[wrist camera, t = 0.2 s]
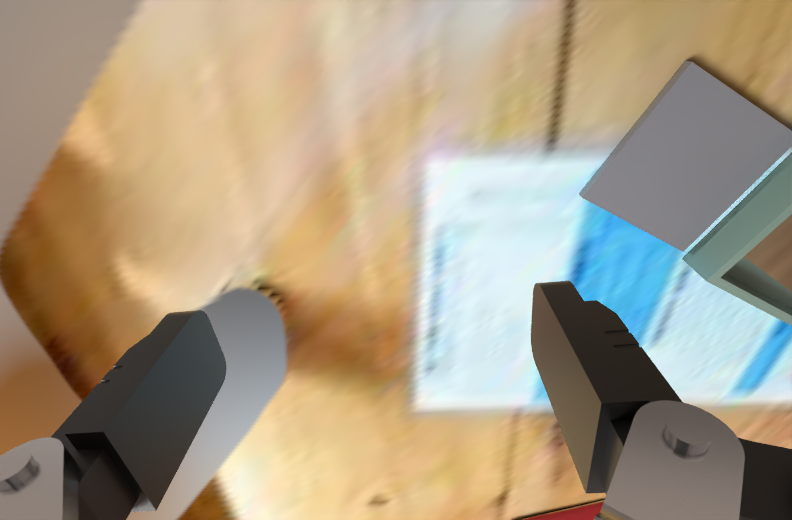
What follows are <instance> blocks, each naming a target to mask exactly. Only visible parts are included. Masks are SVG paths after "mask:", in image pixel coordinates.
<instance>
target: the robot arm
mask: <svg viewBox="0 0 792 520" xmlns="http://www.w3.org/2000/svg"><path fill="white" fill-rule="evenodd" d="M531 345H532V352H533V357H534V361H535V363H536V366H537V369H538V371H539V374H540V376H541V379H542V382H543V384H544V387H545V389H546V392H547V394H548V397H549V400H550V402H551V405H552V407H553V410H554V412H555V415H556V418H557V420H558V423H559V425H560V428H561V430H562V433H563V436H564V438H565V441H566V443H567V446H568V449H569V451H570V454H571V456H572V459H573V461H574V464H575V467H576V469H577V472H578V474H579V477H580V479H581V482H582V485H583V487H584V490H585V492H586V493H606V498H605V500H604V503H603V506H602V509H601V511H600V513H599V514H597V515H596V516H595V518H594V520H792V449H788V448H783V447H778V446H772V445H767V444H762V443H757V442H752V441H748V440H744V439H741V438H738V437H737V436H736V435H735V434H734V432H733V431H732V430H731V429H730V428H729V427H728V426H727V425H726V424H724V423H723V422H722V421H721V420H719V419H718V418H716V417H715V416H713V415H712V414H710V413H708V412H706V411H704V410H703V409H700V408H698V407H695V406H693V405H689V404H686V403H683V402H682V401H681V400H680V398H679V397H678V396H677V394H676V393H675V391H674V390H673V389H672V387H671V386H670V385H669V383H668V382H667V381H666V379H665V378H664V377H663V375H662V374H661V373H660V371H659V370H658V369H657V367H656V366H655V365H654V363H653V362H652V361H651V359H650V358H649V357H648V355H647V354H646V353H645V351H644V350H643V349H642V347H639V343H638V342H637V341H636V339H635V338H634V337H633V335H632V334H631V333H629V331H628V328H627V327H626V326H625V324H624V323H623V322H622V320H621V319H620V318H619V316H618V315H617V314H616V313H615V312H613V311H612V310H610V309H609V308H607V307H606V306H604V305H603V304H601V303H600V302H598V301H597V300H596V301H583V299H582V298H581V296H580V295H579V293H578V291H577V290H576V288H575V287H574V285H573V284H572V283H571V282H570V281H560V282H548V283H536V284H535V286H534V290H533V306H532V325H531ZM113 367H114V369H112V370H110V371H109V372H108V373H107V374H106V375H105V376H104V377H103V379H102V380H101V384H97V385H96V387H95V388H94V389H93V390H92V391H91V392H90V393H89V395H88V396H87V397H86V398H85V399H84V400H83V401H82V402H81V404H80V405H79V406H78V407H77V408H76V409H75V410H74V412H73V413H72V414H71V415H70V416H69V417H68V418H67V419H66V421H65V422H64V423H63V424H62V425H61V426H60V427H59V429H58V430H57V431H56V432H55V433H54V434H53V435H52V436H51V438H49V437H48V438H40V439H36V440H32V441H29V442H26V443H24V444H22V445H19V446H18V447H16V448H14V449H11V450H10V451H8V452H7V453H5V454H3V455H1V456H0V520H126V519H127V517H128V515H129V514H130V512H139V511H156V510H157V508H158V506H159V504H160V502H161V500H162V498H163V496H164V495H165V493H166V491H167V489H168V487H169V485H170V483H171V481H172V479H173V477H174V476H175V474H176V472H177V470H178V468H179V466H180V464H181V462H182V460H183V458H184V457H185V454H186V453H187V451H188V449H189V447H190V445H191V443H192V441H193V439H194V438H195V436H196V434H197V432H198V430H199V428H200V426H201V424H202V422H203V420H204V419H205V417H206V415H207V413H208V411H209V409H210V407H211V405H212V403H213V401H214V399H215V397H216V396H217V393H218V392H219V390H220V388H221V386H222V384H223V382H224V379H225V375H226V361H225V357H224V355H223V352H222V350H221V347H220V345H219V342H218V340H217V337H216V335H215V333H214V330H213V328H212V325H211V323H210V320H209V318H208V316H207V314H205V312H203V311H201V310H198V311H186V312H174V313H169V314H167V315H166V316H165V317H164V318H163V319H162V320H161V322H160V323H159V324H158V325H157V326H156V327H155V329H154V330H153V331H152V332H151V333H150V335H148V336H146V337H145V338H143V339H142V340H141V341H139V342H138V343H137V344H135V345H134V346H132V347H131V348H130V349H128V350H127V351H126V353H125V354H124V355H123V356H122V357H121V358H120V359H119V360H118V362H117V363H116V364H115V365H114V366H113Z"/></svg>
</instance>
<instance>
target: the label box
mask: <svg viewBox="0 0 792 520" xmlns="http://www.w3.org/2000/svg"><path fill="white" fill-rule="evenodd" d="M744 257H745V258H747V259H748V260H749V261H751V262H752V263H753V264H755V265H756V266H757V267H759V268H760V269H761V270H763V271H764V272H766V273H767V274H768V275H770V276H771V277H772V278H774V279H775V280H776V281H778V282H779V283H780V284H782V285H783V286H784V287H786V288H787V289H789V290H790V291H791V292H792V214H791V215H790V216H789V217H788V218H787V219H786V220H784V221H783V222H782V223H781V224H780V225H779V226H778V227H777V228H775V229H774V230H773V231H772V232H771V233H770V234H769V235H768V236H766V237H765V238H764V239H763V240H762V241H761V242H760V243H759V244H757V245H756V246H755V247H754V248H753V249H752V250H751V251H750V252H748V253H747V254H746V255H745V256H744Z"/></svg>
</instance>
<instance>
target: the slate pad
mask: <svg viewBox="0 0 792 520" xmlns="http://www.w3.org/2000/svg"><path fill="white" fill-rule="evenodd" d="M791 146H792V131H791V130H790V129H788V128H787V127H785V126H784V125H783V124H781V123H780V122H778V121H777V120H775V119H774V118H772V117H771V116H770V115H768V114H767V113H765V112H764V111H762V110H761V109H759V108H758V107H757V106H755V105H754V104H752V103H751V102H749V101H748V100H746V99H745V98H744V97H742V96H741V95H739V94H738V93H736V92H735V91H733V90H732V89H731V88H729V87H728V86H726V85H725V84H723V83H722V82H720V81H719V80H718V79H716V78H715V77H713V76H712V75H710V74H709V73H707V72H706V71H704V70H703V69H702V68H700V67H699V66H697V65H696V64H694V63H693V62H690V61H685V62H684V63H683V65H682V66H681V67H680V68H679V70H678V71H677V72H676V73H675V75H674V76H673V77H672V78H671V80H670V81H669V82H668V83H667V85H666V86H665V87H664V88H663V90H662V91H661V92H660V93H659V95H658V96H657V97H656V98H655V100H654V101H653V102H652V103H651V105H650V106H649V107H648V108H647V110H646V111H645V112H644V113H643V115H642V116H641V117H640V118H639V120H638V121H637V122H636V123H635V125H634V126H633V127H632V128H631V130H630V131H629V132H628V133H627V135H626V136H625V137H624V138H623V140H622V141H621V142H620V143H619V145H618V146H617V147H616V148H615V150H614V151H613V152H612V153H611V155H610V156H609V157H608V158H607V160H606V161H605V162H604V163H603V165H602V166H601V167H600V168H599V170H598V171H597V172H596V173H595V175H594V176H593V177H592V178H591V180H590V181H589V182H588V183H587V185H586V186H585V187H584V188H583V190H582V191H581V192H580V193H579V195H580V196H581V197H582V198H584V199H586V200H588V201H590V202H591V203H593V204H595V205H597V206H599V207H601V208H603V209H604V210H606V211H608V212H610V213H612V214H614V215H616V216H617V217H619V218H621V219H623V220H625V221H627V222H629V223H630V224H632V225H634V226H636V227H638V228H640V229H642V230H643V231H645V232H647V233H649V234H651V235H653V236H655V237H656V238H658V239H660V240H662V241H664V242H666V243H668V244H670V245H671V246H673V247H675V248H677V249H679V250H681V251H684V250H685V249H686V248H688V247H689V246H690V245H691V244H692V243H693V242H694V241H695V240H696V239H697V238H698V237H699V236H700V235H701V234H702V233H703V232H704V231H705V230H706V229H707V228H708V227H709V226H710V225H711V224H712V223H713V222H714V221H715V220H716V219H717V218H718V217H719V216H720V215H721V214H722V213H723V212H724V211H725V210H726V209H727V208H728V207H730V206H731V205H732V204H733V203H734V202H735V201H736V200H737V199H738V198H739V197H740V196H741V195H742V194H743V193H744V192H745V191H746V190H747V189H748V188H749V187H750V186H751V185H752V184H753V183H754V182H755V181H756V180H757V179H758V178H759V177H760V176H761V175H762V174H763V173H764V172H765V171H766V170H767V169H768V168H769V167H770V166H772V165H773V164H774V163H775V162H776V161H777V160H778V159H779V158H780V157H781V156H782V155H783V154H784V153H785V152H786V151H787V150H788V149H789V148H790V147H791Z"/></svg>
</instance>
